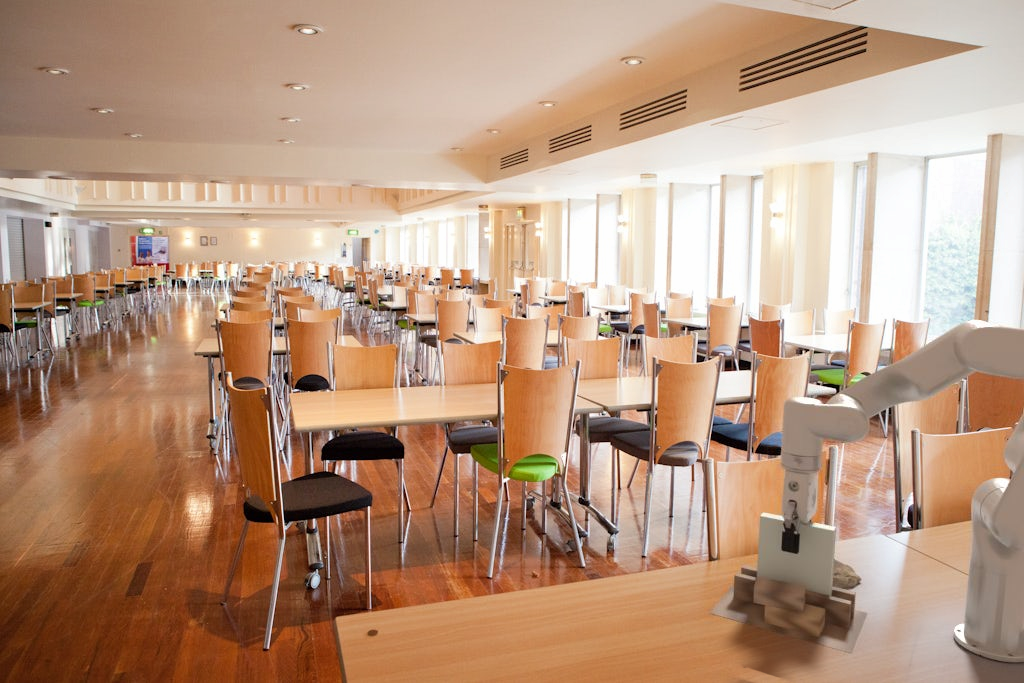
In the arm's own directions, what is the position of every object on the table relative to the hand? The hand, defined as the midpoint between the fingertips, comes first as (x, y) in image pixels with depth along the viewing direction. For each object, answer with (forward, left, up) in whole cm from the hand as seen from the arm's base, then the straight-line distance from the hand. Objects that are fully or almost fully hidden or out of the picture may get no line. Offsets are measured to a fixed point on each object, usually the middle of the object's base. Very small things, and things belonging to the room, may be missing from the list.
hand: (796, 543), depth 149 cm
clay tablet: (0, -17, -15) cm, 23 cm away
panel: (0, 0, -13) cm, 13 cm away
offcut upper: (+1, +7, -10) cm, 12 cm away
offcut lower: (-2, +7, -13) cm, 15 cm away
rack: (0, +3, -15) cm, 15 cm away
